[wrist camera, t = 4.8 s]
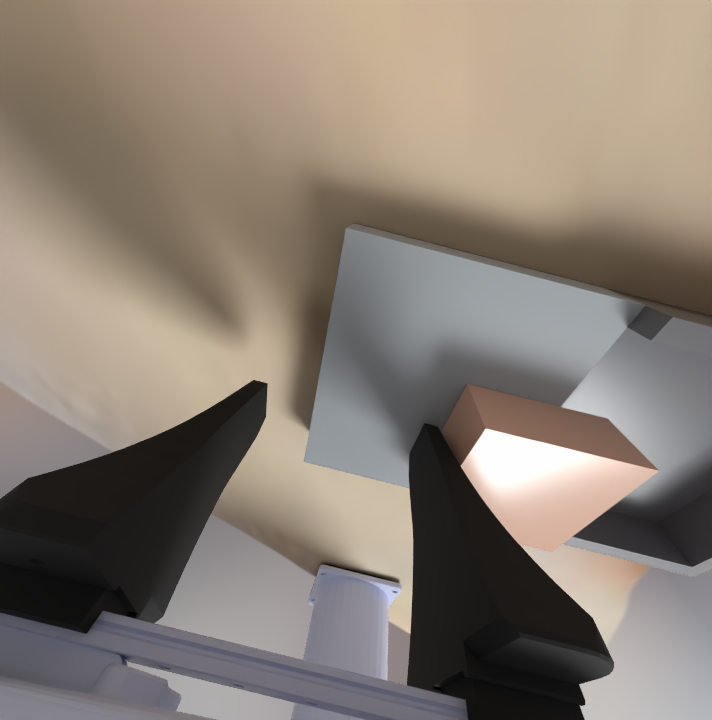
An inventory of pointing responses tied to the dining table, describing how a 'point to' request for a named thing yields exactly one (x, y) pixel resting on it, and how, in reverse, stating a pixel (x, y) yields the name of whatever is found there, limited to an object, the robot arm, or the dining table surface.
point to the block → (542, 463)
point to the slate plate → (443, 344)
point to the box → (657, 438)
